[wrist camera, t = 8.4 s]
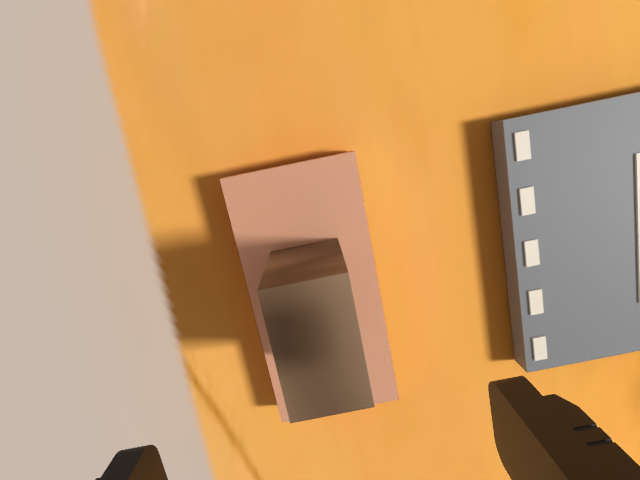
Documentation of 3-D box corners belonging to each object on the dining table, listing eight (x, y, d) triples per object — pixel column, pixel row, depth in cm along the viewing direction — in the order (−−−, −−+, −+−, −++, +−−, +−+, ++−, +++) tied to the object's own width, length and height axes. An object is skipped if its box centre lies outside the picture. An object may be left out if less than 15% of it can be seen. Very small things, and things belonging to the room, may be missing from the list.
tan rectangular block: (351, 150, 18) (372, 154, 12) (393, 385, 21) (428, 481, 15) (225, 177, 18) (184, 192, 12) (283, 406, 21) (273, 511, 15)
